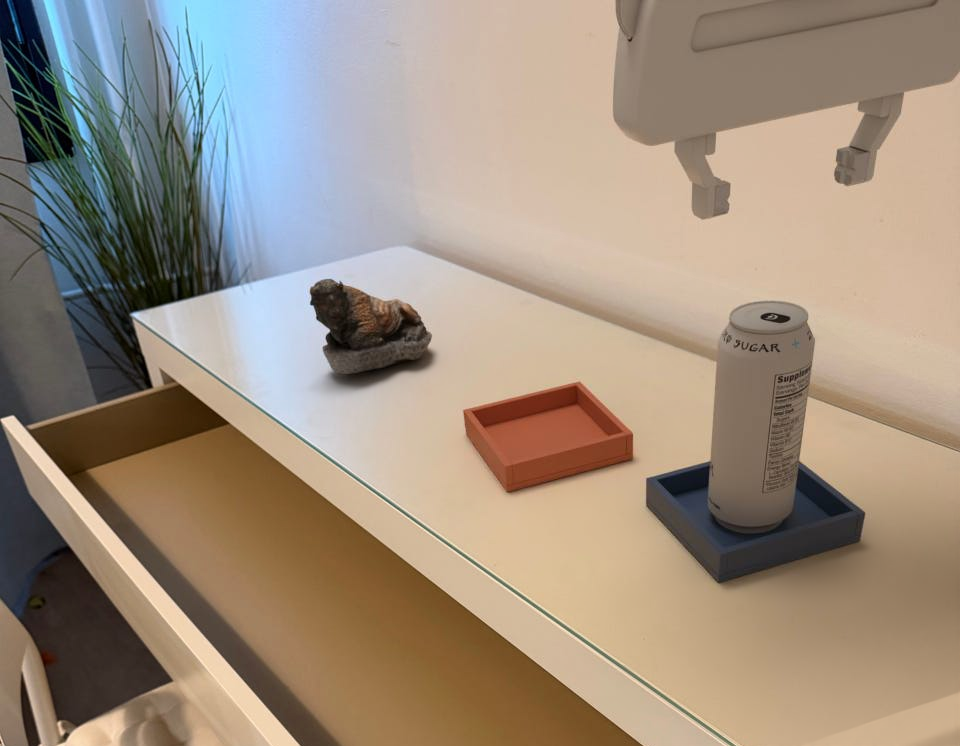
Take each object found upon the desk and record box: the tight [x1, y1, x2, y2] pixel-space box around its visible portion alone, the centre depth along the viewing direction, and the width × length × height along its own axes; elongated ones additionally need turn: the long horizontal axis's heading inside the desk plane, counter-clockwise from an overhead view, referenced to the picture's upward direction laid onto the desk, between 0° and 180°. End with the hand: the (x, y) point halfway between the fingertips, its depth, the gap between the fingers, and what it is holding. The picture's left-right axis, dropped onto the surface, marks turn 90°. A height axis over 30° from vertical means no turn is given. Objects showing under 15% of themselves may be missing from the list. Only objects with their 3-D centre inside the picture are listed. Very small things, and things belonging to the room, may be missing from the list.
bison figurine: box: [309, 278, 433, 375], centre depth 94 cm, size 12×7×10 cm, turn 122°
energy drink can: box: [708, 300, 816, 534], centre depth 64 cm, size 6×6×15 cm
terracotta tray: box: [462, 381, 634, 493], centre depth 80 cm, size 11×11×2 cm
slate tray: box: [645, 460, 866, 583], centre depth 68 cm, size 11×11×2 cm
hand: (782, 198), depth 54 cm, fingers open, 8 cm apart
